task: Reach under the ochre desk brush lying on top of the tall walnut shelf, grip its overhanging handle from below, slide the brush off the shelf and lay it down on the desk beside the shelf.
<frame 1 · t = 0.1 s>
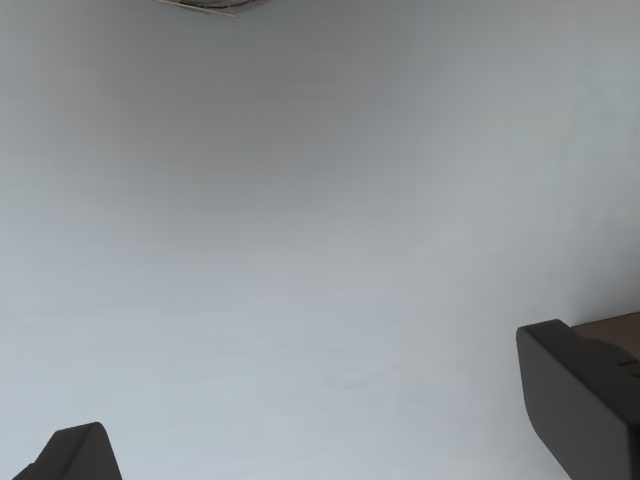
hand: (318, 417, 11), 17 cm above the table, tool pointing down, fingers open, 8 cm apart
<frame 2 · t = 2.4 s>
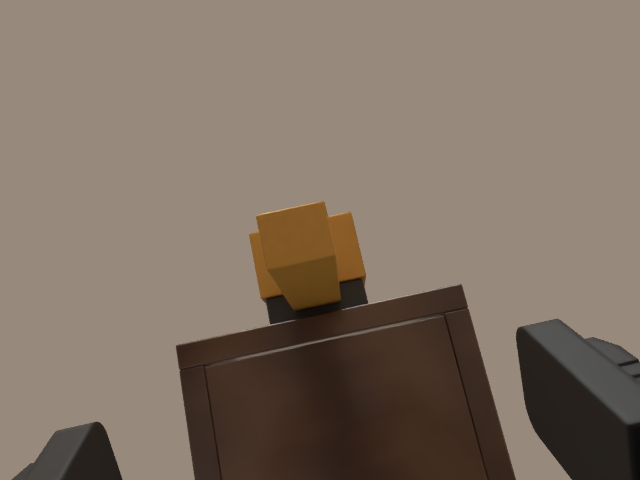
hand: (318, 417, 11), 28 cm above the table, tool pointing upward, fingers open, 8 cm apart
brush: (323, 325, 33), point 32 cm above the table, touching shelf
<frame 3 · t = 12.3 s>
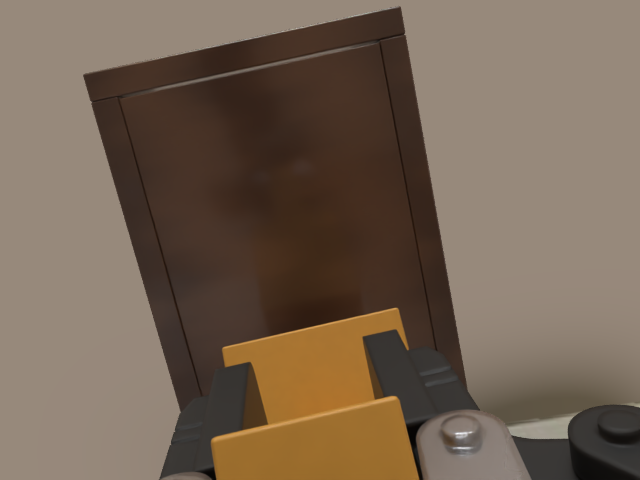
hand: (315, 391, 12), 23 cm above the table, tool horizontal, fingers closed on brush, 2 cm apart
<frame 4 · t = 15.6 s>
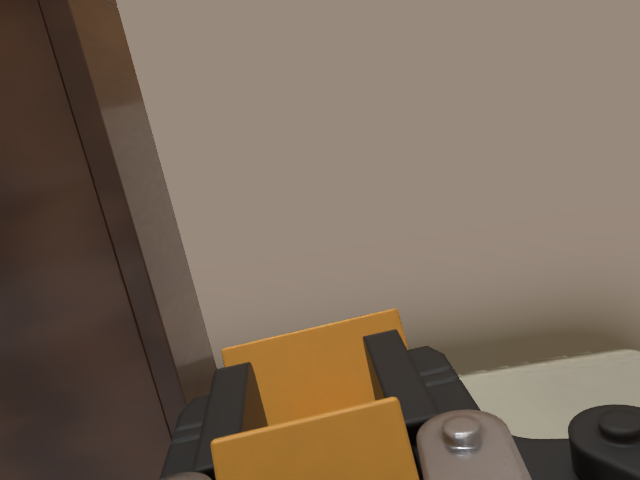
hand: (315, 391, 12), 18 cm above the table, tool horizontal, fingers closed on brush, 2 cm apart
when the fingers open (9 cm above the table, at t = 18.5 s): brush drops 2 cm, on the table.
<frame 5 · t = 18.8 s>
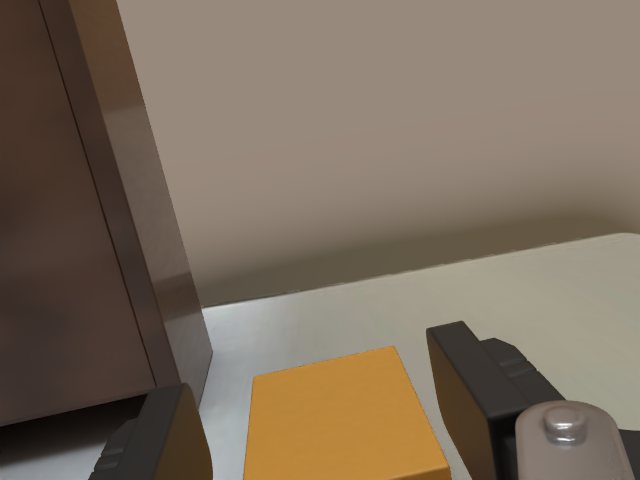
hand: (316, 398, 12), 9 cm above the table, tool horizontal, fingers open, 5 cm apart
shelf: (83, 411, 34), on the table
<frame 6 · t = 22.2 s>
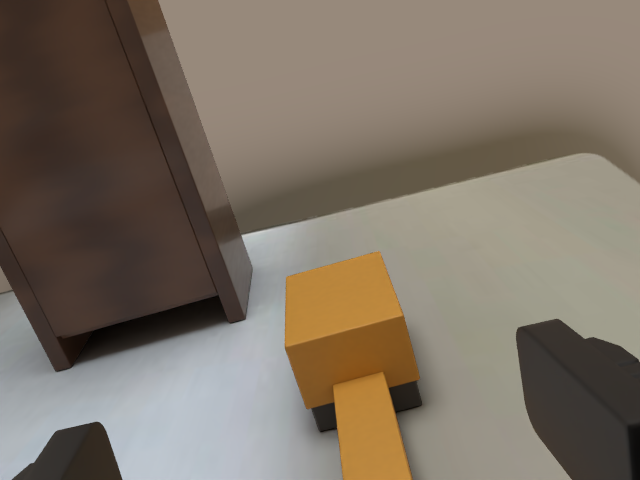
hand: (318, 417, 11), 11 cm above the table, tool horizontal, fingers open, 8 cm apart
brush: (362, 375, 31), on the table
shelf: (162, 315, 45), on the table
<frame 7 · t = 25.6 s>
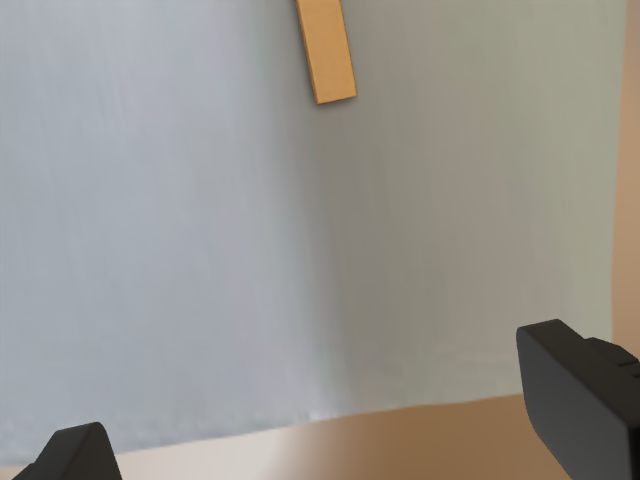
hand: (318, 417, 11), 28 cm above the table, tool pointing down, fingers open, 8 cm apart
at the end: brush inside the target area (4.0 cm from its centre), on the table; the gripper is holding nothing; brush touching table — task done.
